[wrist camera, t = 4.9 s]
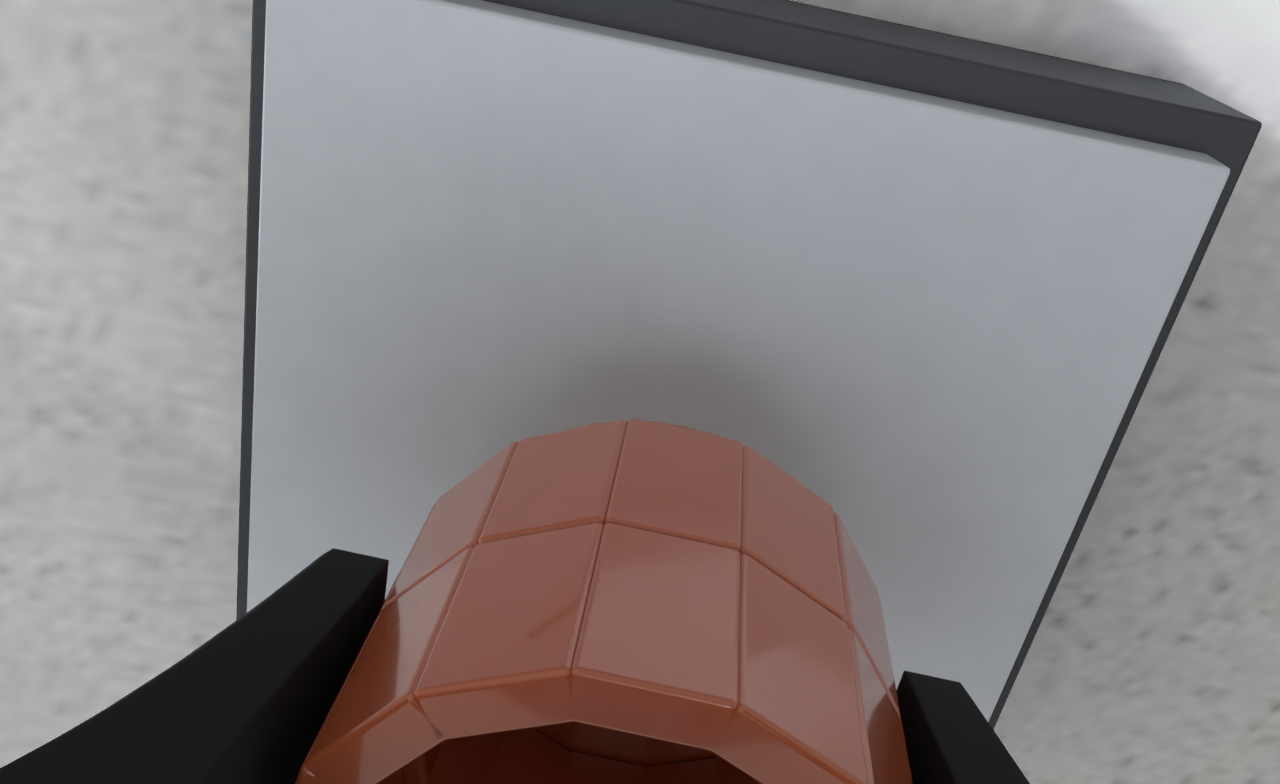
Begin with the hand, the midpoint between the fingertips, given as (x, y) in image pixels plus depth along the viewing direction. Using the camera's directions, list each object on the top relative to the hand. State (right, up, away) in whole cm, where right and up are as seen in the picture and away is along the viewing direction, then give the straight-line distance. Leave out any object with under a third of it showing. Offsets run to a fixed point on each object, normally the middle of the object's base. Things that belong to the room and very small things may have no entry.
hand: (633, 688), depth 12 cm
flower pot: (0, +1, +1) cm, 1 cm away
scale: (+1, +3, +7) cm, 8 cm away
